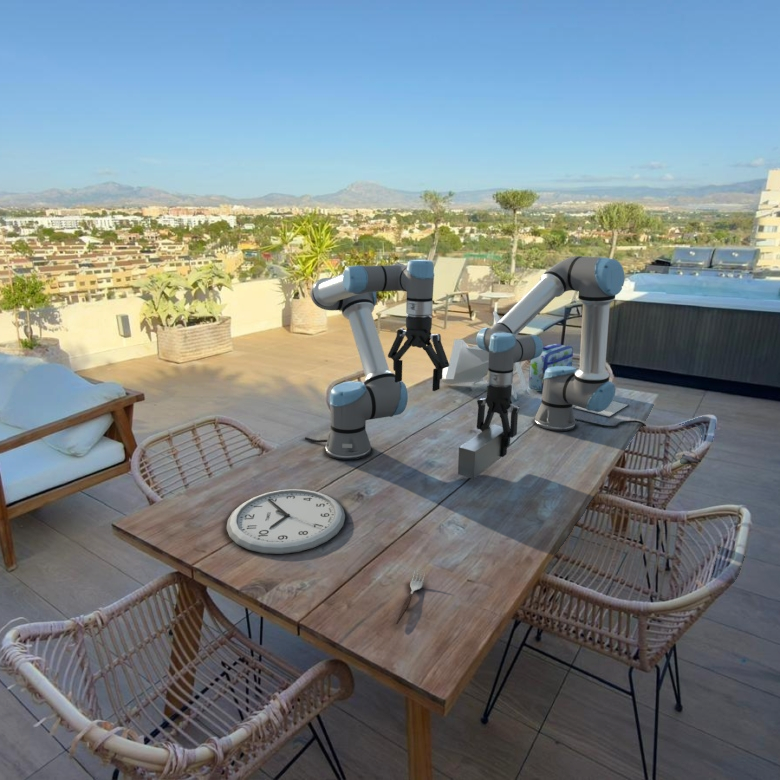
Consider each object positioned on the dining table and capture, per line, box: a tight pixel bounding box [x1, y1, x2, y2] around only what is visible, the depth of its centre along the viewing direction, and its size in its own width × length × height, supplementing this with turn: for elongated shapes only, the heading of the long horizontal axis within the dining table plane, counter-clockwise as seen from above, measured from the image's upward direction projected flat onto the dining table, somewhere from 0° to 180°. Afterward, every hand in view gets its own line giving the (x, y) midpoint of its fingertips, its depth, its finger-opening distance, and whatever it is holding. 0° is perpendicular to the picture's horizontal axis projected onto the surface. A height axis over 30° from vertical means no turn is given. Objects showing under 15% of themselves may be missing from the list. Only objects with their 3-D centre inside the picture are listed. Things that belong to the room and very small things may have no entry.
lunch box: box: [528, 343, 574, 392], centre depth 248 cm, size 26×11×21 cm, turn 134°
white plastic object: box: [440, 310, 531, 400], centre depth 245 cm, size 37×45×31 cm
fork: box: [396, 568, 427, 625], centre depth 107 cm, size 3×16×2 cm, turn 160°
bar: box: [457, 423, 504, 480], centre depth 160 cm, size 22×5×9 cm, turn 143°
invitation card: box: [573, 400, 629, 418], centre depth 226 cm, size 21×1×15 cm
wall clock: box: [226, 488, 346, 555], centre depth 135 cm, size 30×2×30 cm
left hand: (416, 385), depth 157 cm, fingers open, 13 cm apart
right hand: (494, 452), depth 167 cm, fingers closed on bar, 5 cm apart
